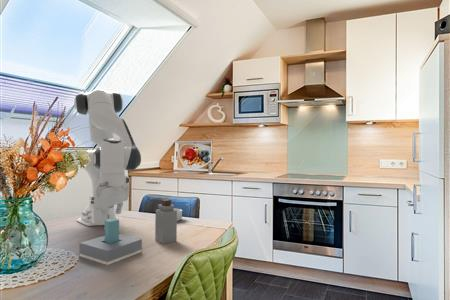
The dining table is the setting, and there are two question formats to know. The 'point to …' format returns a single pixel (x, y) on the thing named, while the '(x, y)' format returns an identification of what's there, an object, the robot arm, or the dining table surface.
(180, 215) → the saucepan
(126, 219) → the dining table surface
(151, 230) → the dining table surface
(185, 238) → the dining table surface
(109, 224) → the peg
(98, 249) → the socket block
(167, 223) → the perfume bottle
